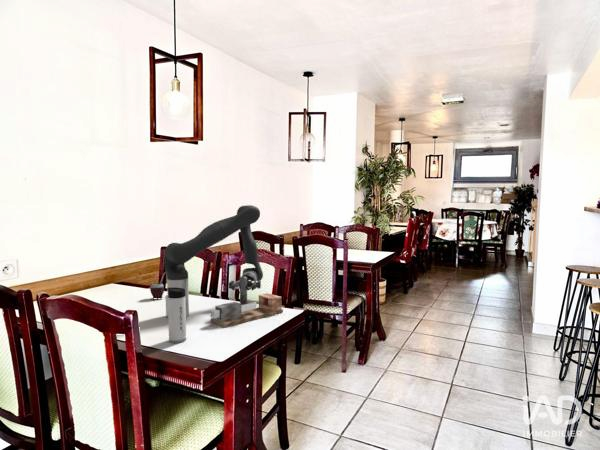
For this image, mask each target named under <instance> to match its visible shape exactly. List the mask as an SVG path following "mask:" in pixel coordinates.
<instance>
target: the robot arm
mask: <svg viewBox="0 0 600 450" xmlns="http://www.w3.org/2000/svg"><path fill="white" fill-rule="evenodd" d="M260 217H261V210H260V209H259V207H257V206H255V205H251V204H250V205H249V204H247V205H241V206H239V207H238V209H237V210H236V215H233V216H230V217H225V218H222V219H220V220H217V221H214V222H213V223H211V224H208V226H206V227H204V228H203V229H202V230H201V231H200V232H199V233H198V234H197V235H196V236H195V237H193V238H191V239H189V240H186V241H184V242H181V243H180V242H171V243H169V244H168V245H167V246H166V247H165V250H164V255H163V257H164V270H165V272H166V273H165V272H164V273H165V275H166V282H167V283H166V285H167V286H166V291H167V293H166V295H165V317H167V318H168V290H167V288H168V287H170V288H173V287H177V288H183V289H185V296H186V297H185V298H186V317H188V316H189V315H190V309H189V308H190V302H189V301H190V300H189V295H190V294H189V293H190V292H189V272H188V270H187V269H186V266H185V263H187V262H189V261H190V260H192V259H194V257H196V256H197V255H198V254H199V253H201V252H203V251H205V250H208V249H209V248H210V247H212V246H214V245H215V244H218V243H220V242H221V241H223V240H225V239H226V238H228V237H230V236H232V235H233V234H235V233H236V232H238V231H240V236H241V240H242V246H243V247H242V248H243V257H244V262H245V264H247V265H253V266H254V267H248V268H247V267H246V268H244V269H243V270H242V273H241V274H242V275H241V276H240V277H242V276H245V277H247V291H250V290H251V291H254V290H256V289H261V288H262V279H263V278H264V273H263V270H262V267H261V264H260V260H259V253H258V245H257V242H256V241H255V238H254V236H253V233H252V228H251V225H252V224H255V223H257V222H258V220H259V219H260ZM228 289H229V290H230V289H231V290H232V291H235V290H240V278H239V279H238V280H236V281H234V280H230V281H229V282H228Z"/></svg>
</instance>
